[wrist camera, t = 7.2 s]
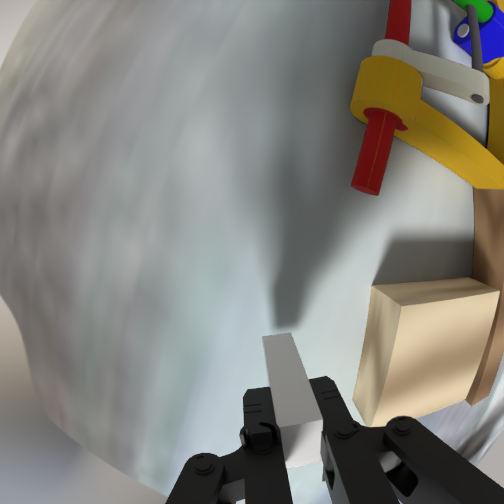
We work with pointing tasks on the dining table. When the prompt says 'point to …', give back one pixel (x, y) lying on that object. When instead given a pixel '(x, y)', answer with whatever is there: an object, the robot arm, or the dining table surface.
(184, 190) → the dining table surface
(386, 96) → the mechanical clamp
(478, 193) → the board
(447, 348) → the block
